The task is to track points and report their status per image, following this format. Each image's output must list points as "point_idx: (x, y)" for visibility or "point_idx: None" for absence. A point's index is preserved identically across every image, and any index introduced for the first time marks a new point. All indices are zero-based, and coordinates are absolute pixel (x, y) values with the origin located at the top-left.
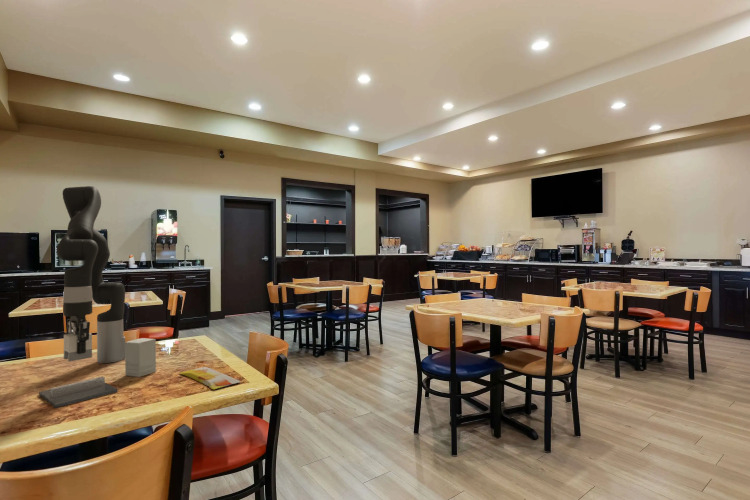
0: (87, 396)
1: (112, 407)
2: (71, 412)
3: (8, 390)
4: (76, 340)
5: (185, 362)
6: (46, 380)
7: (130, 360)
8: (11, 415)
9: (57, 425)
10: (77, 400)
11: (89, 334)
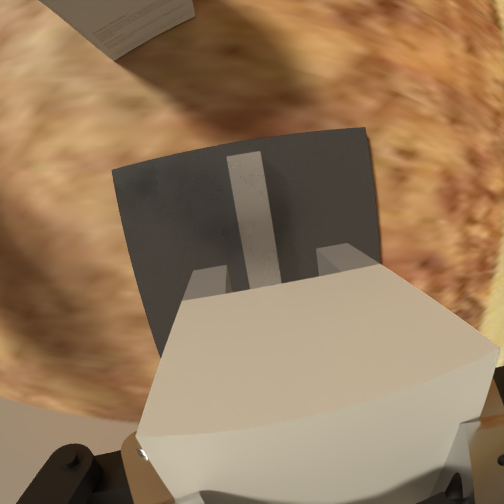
0: (377, 237)
1: (486, 189)
2: (446, 286)
3: (62, 409)
4: None
5: None
6: (4, 324)
7: (123, 10)
8: None
9: (490, 312)
10: None
11: (486, 375)
